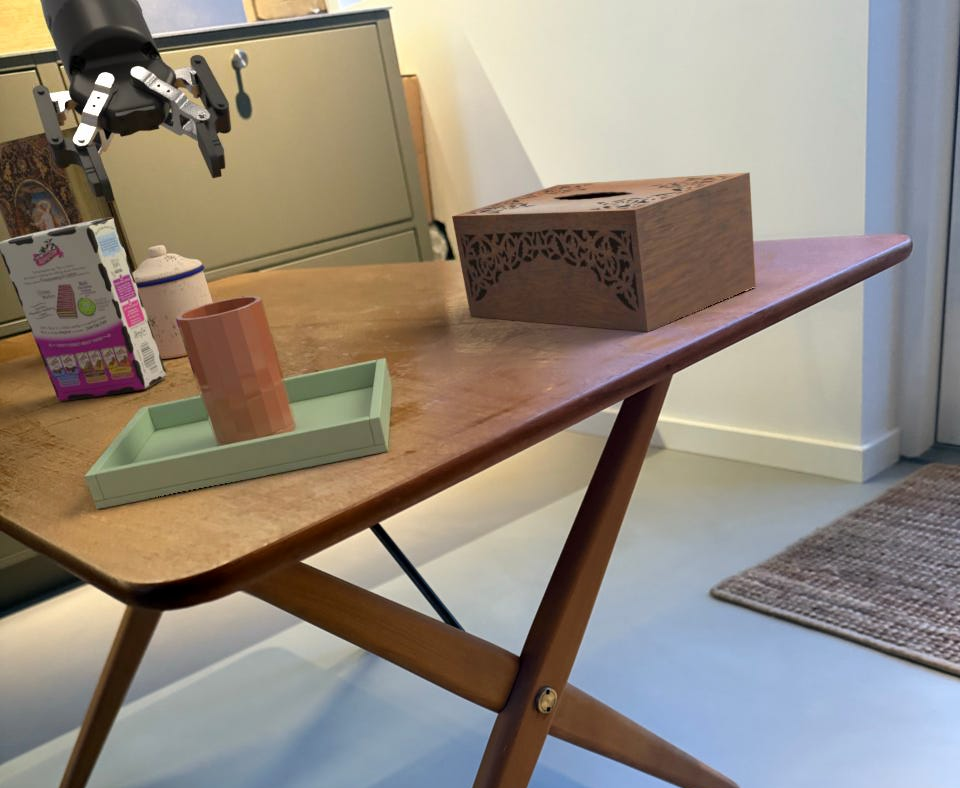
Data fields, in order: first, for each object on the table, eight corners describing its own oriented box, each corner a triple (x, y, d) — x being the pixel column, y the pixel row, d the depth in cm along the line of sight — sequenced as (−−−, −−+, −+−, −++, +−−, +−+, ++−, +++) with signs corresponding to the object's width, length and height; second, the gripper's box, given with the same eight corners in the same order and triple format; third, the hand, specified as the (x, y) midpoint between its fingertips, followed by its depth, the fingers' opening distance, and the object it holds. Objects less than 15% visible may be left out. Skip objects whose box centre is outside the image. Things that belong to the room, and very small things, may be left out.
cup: (210, 455, 79) (168, 325, 74) (224, 430, 85) (185, 307, 80) (291, 439, 79) (254, 307, 74) (300, 415, 84) (265, 291, 80)
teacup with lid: (226, 333, 127) (196, 233, 121) (226, 347, 119) (194, 241, 113) (128, 356, 125) (94, 256, 120) (123, 371, 117) (85, 266, 112)
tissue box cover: (470, 316, 109) (451, 216, 104) (570, 280, 115) (557, 184, 110) (647, 331, 89) (635, 210, 85) (755, 287, 96) (749, 172, 91)
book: (50, 357, 134) (-30, 150, 122) (84, 345, 138) (10, 142, 126) (128, 356, 125) (50, 131, 113) (162, 342, 129) (90, 123, 117)
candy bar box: (170, 376, 110) (116, 214, 102) (147, 391, 106) (88, 223, 98) (82, 388, 114) (23, 232, 106) (56, 402, 109) (-7, 241, 101)
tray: (96, 509, 75) (83, 476, 73) (150, 436, 90) (140, 407, 89) (387, 451, 74) (379, 416, 72) (392, 387, 89) (385, 357, 88)
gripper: (189, 53, 89) (254, 197, 85) (22, 85, 86) (81, 237, 81) (178, -28, 82) (248, 124, 78) (-5, 3, 79) (58, 164, 74)
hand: (163, 181), depth 80 cm, fingers open, 8 cm apart
